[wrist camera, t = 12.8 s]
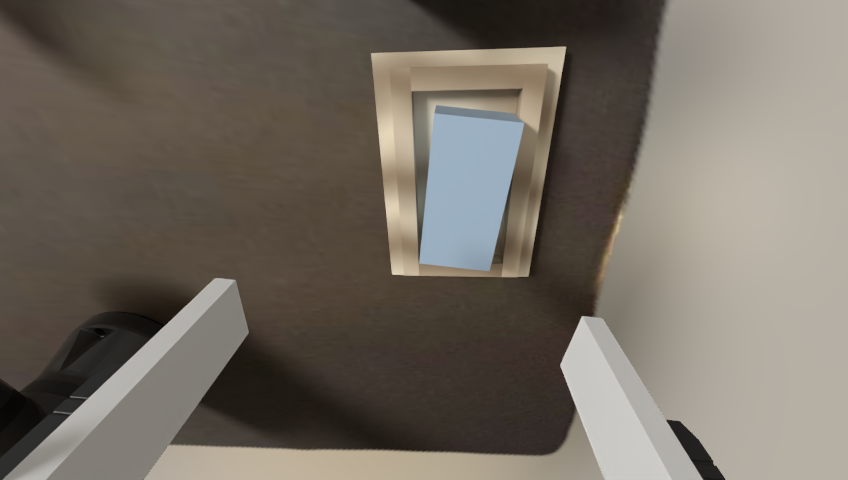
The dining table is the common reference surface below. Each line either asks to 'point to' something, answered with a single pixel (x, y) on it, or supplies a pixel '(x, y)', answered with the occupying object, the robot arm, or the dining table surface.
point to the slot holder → (412, 132)
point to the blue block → (467, 185)
